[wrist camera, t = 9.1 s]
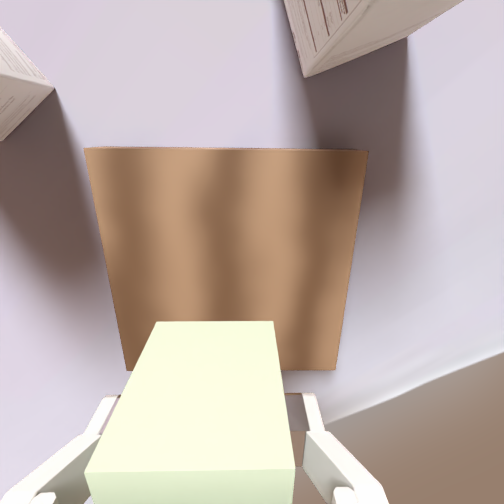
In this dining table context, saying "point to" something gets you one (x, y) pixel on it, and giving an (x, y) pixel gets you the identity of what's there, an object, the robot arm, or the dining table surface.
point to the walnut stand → (230, 240)
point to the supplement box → (354, 27)
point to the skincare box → (18, 85)
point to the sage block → (199, 421)
